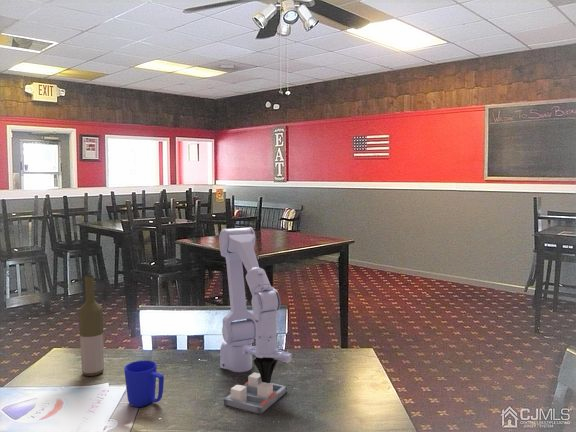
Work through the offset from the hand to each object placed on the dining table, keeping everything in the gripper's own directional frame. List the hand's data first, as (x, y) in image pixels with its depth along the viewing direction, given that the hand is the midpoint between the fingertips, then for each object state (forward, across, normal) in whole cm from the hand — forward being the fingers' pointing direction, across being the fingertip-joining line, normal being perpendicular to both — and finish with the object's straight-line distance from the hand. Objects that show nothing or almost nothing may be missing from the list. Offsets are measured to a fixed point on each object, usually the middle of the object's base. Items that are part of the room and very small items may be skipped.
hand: (266, 383), depth 136 cm
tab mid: (+2, +2, -4) cm, 5 cm away
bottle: (+4, -55, -11) cm, 56 cm away
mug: (+4, -26, -19) cm, 32 cm away
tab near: (+2, -3, -9) cm, 10 cm away
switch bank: (+3, -1, -4) cm, 6 cm away
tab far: (+2, -3, 0) cm, 4 cm away
